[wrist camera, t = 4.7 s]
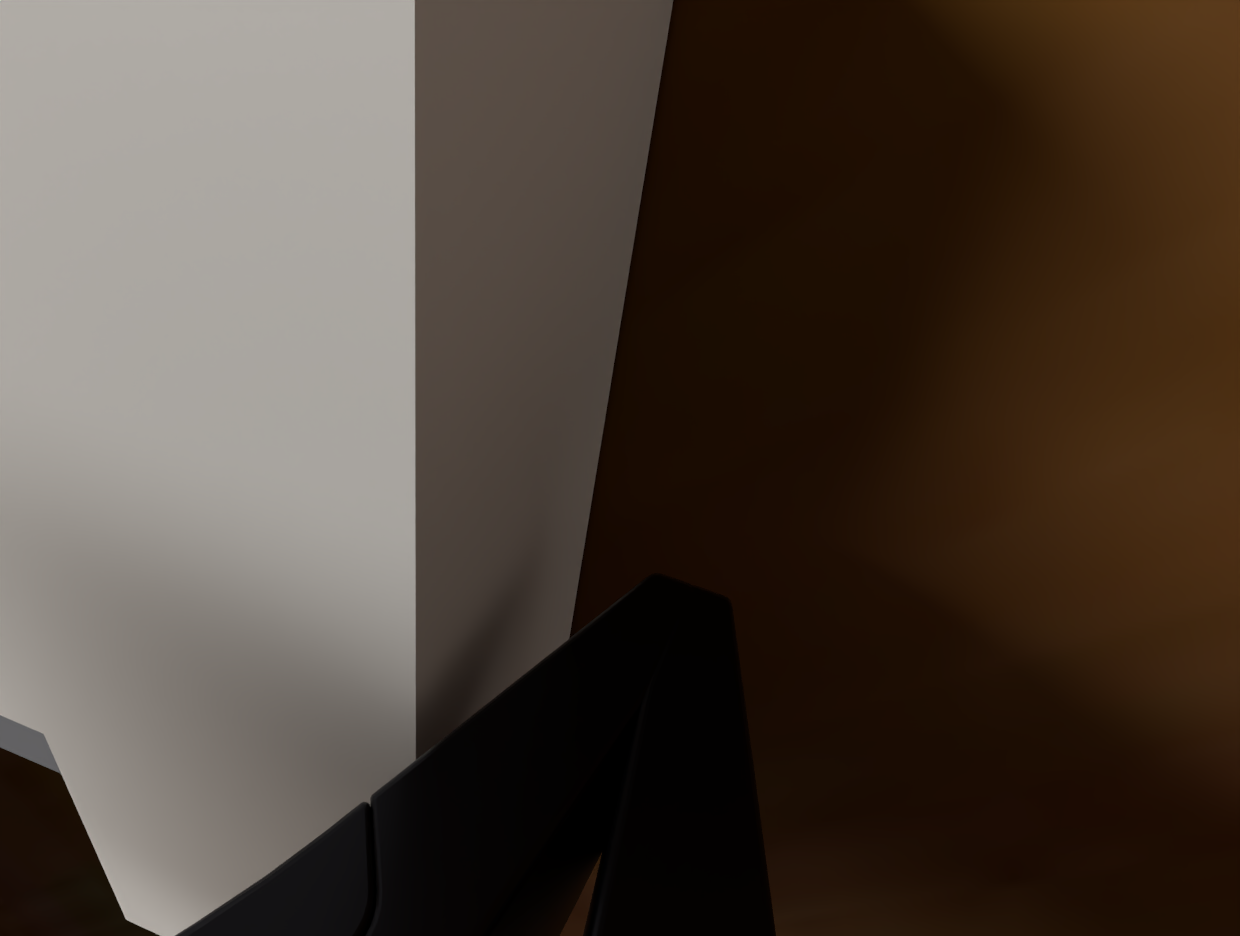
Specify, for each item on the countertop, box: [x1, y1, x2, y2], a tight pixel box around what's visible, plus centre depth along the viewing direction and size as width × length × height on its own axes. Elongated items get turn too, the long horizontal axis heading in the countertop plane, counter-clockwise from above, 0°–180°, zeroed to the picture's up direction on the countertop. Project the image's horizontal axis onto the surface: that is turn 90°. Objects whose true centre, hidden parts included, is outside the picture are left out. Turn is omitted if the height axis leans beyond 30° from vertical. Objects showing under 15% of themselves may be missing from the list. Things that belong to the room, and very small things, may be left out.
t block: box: [0, 0, 673, 936], centre depth 9 cm, size 11×12×4 cm
